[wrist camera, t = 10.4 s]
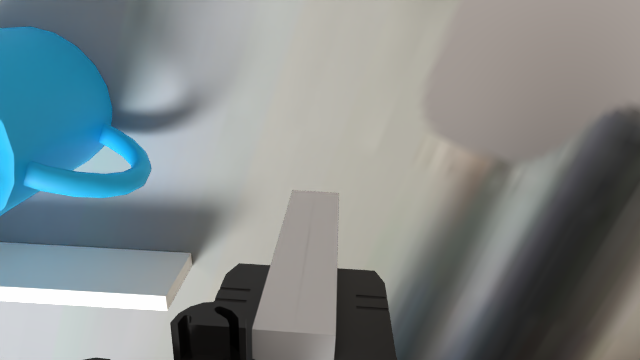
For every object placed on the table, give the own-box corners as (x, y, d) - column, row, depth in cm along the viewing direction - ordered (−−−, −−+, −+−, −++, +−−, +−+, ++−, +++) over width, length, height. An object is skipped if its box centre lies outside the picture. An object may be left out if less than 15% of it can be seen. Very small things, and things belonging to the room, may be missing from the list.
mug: (-38, 135, 26) (-194, 190, 18) (-22, -1, 23) (-201, -3, 15) (155, 211, 27) (85, 291, 20) (194, 92, 24) (129, 132, 17)
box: (163, -84, 21) (119, -106, 17) (192, 265, 28) (167, 310, 24) (-130, -97, 21) (-244, -121, 17) (-24, 253, 29) (-85, 295, 25)
